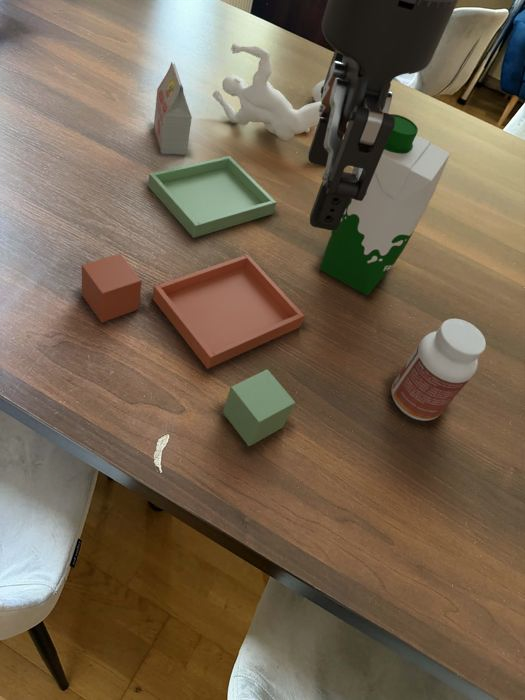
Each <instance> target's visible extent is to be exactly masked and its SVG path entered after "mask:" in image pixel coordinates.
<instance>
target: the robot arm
mask: <svg viewBox="0 0 525 700" xmlns="http://www.w3.org/2000/svg"><path fill="white" fill-rule="evenodd" d="M458 2H459V0H327V3H326V7H325V10H324V13H323V17H322V20H321V32H322V35H323V37H324V39H325V41H326V42H327V43H328V44H329V45H330V47H332V48H333V50H334V52H333V55H332V58H331V61H330V64H329V67H328V70H327V74H326V77H325V79H324V80H325V82H324V85H323V86H322V88H321V98H322V101H321V103H322V104H321V105H320V107H319V117H323V118H320V119H319V122H318V125H317V128H316V127H315V128H316V131H315V130H314V132H315V134H314V133H313V137H314V138H313V137H312V141H311V144H310V147H309V149H308V151H309V153H308V152H307V157H308V158H307V159H308V162H309V163H311V164H314V165H318V166H323V167H325V169H324V172H323V174H322V177H321V180H322V181H321V184H320V187H319V189H318V192H317V195H316V196H315V197H316V198H315V200H314V202H313V205H312V209H311V211H310V213H309V224H310V226H311V227H314V228H317V229H322V230H326V231H332V230H336V229H337V228H338V226H339V224H340V221H341V219H342V217H343V214H344V212H345V209H346V207H347V205H348V202H349V200H350V198H351V199H354V200H358V201H362V200H363V199H364V196H365V195H366V193H367V189H368V187H369V184H370V182H371V180H372V177H373V175H374V172H375V170H376V168H377V165H378V163H379V160H380V158H381V156H382V153H383V151H384V148H385V146H386V144H387V141H388V139H389V136H390V134H391V132H392V130H393V128H394V125H395V115H392V114H393V113H389V112H390V108H391V105H392V100H393V91H390V89H391V86H392V84H391V83H392V82H393V80H394V79H396V78H397V77H399V76H402V75H407V74H409V75H412V74H416V73H419V72H421V71H423V70H425V69H426V68H427V67H428V66H429V65H430V64H431V62H432V60H433V58H434V56H435V53H436V51H437V49H438V46H439V44H440V42H441V40H442V38H443V35H444V33H445V31H446V29H447V27H448V24H449V22H450V20H451V17H452V16H453V13H454V11H455V10H456V9H455V8H456V6H457V5H458ZM346 167H353V169H352V173H351V172H347V171H345V169H346Z"/></svg>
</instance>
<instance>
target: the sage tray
mask: <svg viewBox="0 0 525 700" xmlns="http://www.w3.org/2000/svg"><path fill="white" fill-rule="evenodd" d="M147 187H148V188H149V189H150V190H151V191H152V192H153V194H154V195H156V197H157V198H158V199H159V200H160V201H161V203H163V205H164V206H165V207H166V208H167V209H168V211H169V212H170V213H171V214H172V215H173V216H174V218H176V220H177V221H178V222H179V224H181V225H182V226H183V228H184V229H185V230H186V231H187V232H188V234H189V235H190V236H191V237H192V238H193V239H195V238H198V237H202V236H205V235H207V234H211V233H214V232H218V231H221V230H224V229H228V228H231V227H234V226H237V225H242V224H244V223H249V222H251V221H253V220H257V219H261V218H264V217H267V216H271V215H274V212H275V209H276V205H277V201H276V200H275V199H274V198H273V197H272V196H271V195H270V194H269V193H268V192H267V191H266V190H265V189H264V188H263V187H262V186H261V185H260V184H259V183H258V182H257V181H256V180H255V179H254V178H253V177H252V176H251V175H250V174H249V173H248V172H247V171H246V170H245V169H244V168H243V167H242V166H241V165H240V164H239V163H238V162H237V161H236V160H235V159H233V157H232V156H231V155H226V156H223V157H218V158H213V159H209V160H204V161H200V162H195V163H191V164H187V165H182V166H178V167H173V168H169V169H163V170H159V171H154V172H151V173H149V174H148V183H147Z"/></svg>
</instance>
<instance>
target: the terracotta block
mask: <svg viewBox="0 0 525 700" xmlns="http://www.w3.org/2000/svg"><path fill="white" fill-rule="evenodd" d="M142 282H143V281H142V279H141V278H140V277H139V275H138V274H137V273H136V271H135V270H134V268H133V267H131V265H130V264H129V262H128V261H127V260H126V259H125V257H124V256H123V255H122V253H118V254H114V255H111V256H107V257H105V258H101V259H97V260H94V261H90V262H87V263H84V264H81V295H82V297H83V298H84V300H85V301H86V302H87V304H88V305H89V307H90V309H91V310H92V311H93V313H94V314H95V316H96V317H97V318H98V319H99V321H100V322H101V323H104V322H107V321H110V320H113V319H116V318H119V317H122V316H124V315H126V314H129V313H132V312H135V311H138V310H139V309H140V301H141V290H142Z"/></svg>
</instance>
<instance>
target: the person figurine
mask: <svg viewBox="0 0 525 700" xmlns="http://www.w3.org/2000/svg"><path fill="white" fill-rule="evenodd" d="M230 50H231V51H232V52H231V54H239V53H242V52H243V53H247V54H249V55H251V56H254V57H256V58H258V59H259V61H258V66H257V70H256V72H254V74H253V76H252V83H251V85H249V84H248V83H247V82H246V81H245V80H244V79H243V78H242V77H240V76H238V75H236V74H229V75H227V76H225V77H224V79H223V80H222V84H221V85H222V89H223V91H224V92H225V93H226V94H228V95H230V96H231V97H237V98H238V99H239V103H240V108H239V110H238V111H236V110H235V109H234V108H233V107H232V106H231V105H230V104H229V103H228V102H227V100H226V99H225V98H224V96H223V94H222V92H221V91H220V90H215V91H213V92H212V97H213V98H214V100H215V101H216V102H217V103H219V105H220V106H221V107H222V108H223V111H224V113H225V115H226V117H227V118H228V120H229V121H230V122H231V123H232V124H239V125H241V126H246V125H248V124H249V122H251V123H263V125H264V127H265V128H266V130H267V131H268V133H271V134H273V135H275V136H276V137H278V138H279V139H280V140H282V141H284V142H288V141H291V140H292V139H293V138H294V137H295V135H300V134H303V133H306V134H307V133H309V132H310V131H311V128H313V127H315V128H314V133H313V135H314V134H315V131H316V128H317V125H318V122H319V119H320V118H323V117H319V107H320V105H321V104H322V103H321V101H319V102H315V101H314V102H311V103H308V104H305V105H304V106H301V107H300V108H298V109H295V108H293V104H291V102H289V100H288V99H287V98H286V97H285V95H284V94H283V93H282V92H281V91H279V90H278V89H276V88H274V86H273V85H272V84H271V83H270V82H269V79H270V77H271V76H272V74H273V66H272V63H271V53H270V51H269V50H267V49H264V48H263V47H260V46H254V45H252V46H250V45H249V46H245V45H240V44H236V43H232V44H231V48H230ZM313 138H314V136H313V137H312V139H313ZM308 153H309V150H308V152H307V154H308Z"/></svg>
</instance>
